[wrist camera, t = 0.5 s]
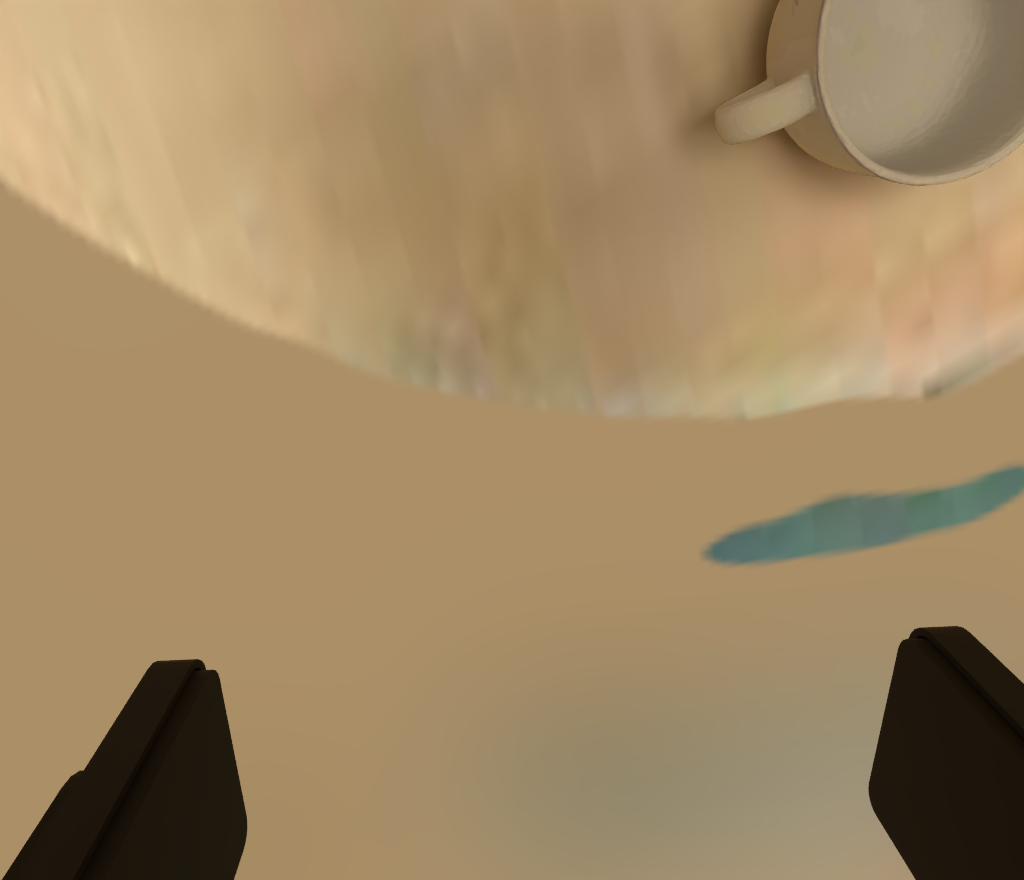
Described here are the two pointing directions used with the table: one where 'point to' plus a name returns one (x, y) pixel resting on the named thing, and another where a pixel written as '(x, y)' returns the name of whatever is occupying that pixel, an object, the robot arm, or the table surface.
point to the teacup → (891, 86)
